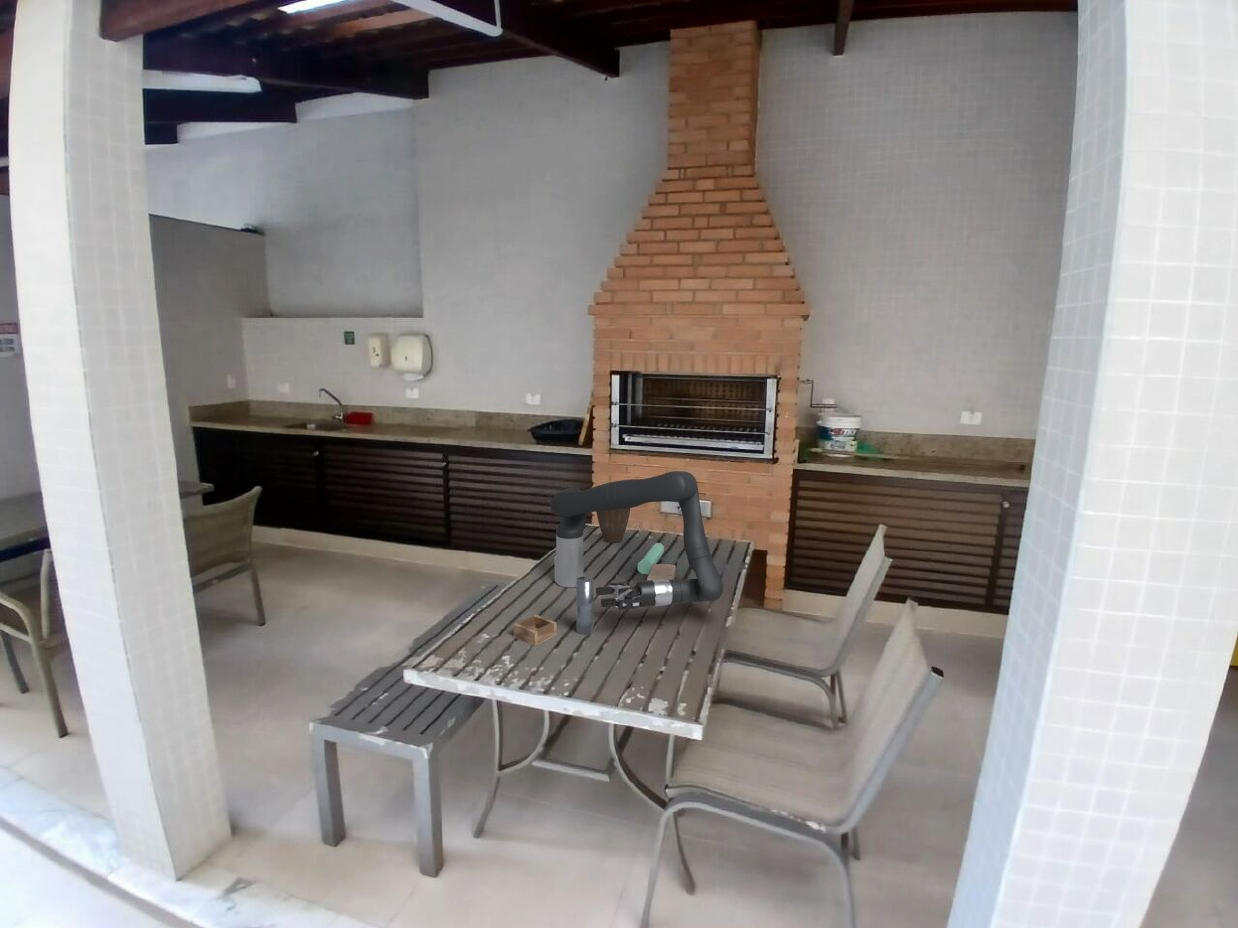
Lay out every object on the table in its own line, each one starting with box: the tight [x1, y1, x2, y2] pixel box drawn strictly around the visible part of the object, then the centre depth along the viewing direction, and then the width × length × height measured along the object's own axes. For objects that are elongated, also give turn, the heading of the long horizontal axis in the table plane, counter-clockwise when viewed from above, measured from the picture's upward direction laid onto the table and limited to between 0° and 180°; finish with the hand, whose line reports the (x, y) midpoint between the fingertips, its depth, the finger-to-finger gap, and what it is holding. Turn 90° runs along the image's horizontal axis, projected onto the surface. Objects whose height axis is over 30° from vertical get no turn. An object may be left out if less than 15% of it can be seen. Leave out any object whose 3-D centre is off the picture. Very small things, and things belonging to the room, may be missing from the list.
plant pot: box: [595, 508, 631, 544], centre depth 265 cm, size 15×15×16 cm
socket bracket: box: [512, 614, 559, 647], centre depth 177 cm, size 9×9×4 cm
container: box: [637, 542, 665, 575], centre depth 239 cm, size 6×6×25 cm
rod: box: [575, 576, 594, 636], centre depth 178 cm, size 5×5×16 cm
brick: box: [646, 563, 677, 580], centre depth 218 cm, size 17×8×5 cm, turn 169°
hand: (598, 597), depth 178 cm, fingers open, 8 cm apart
